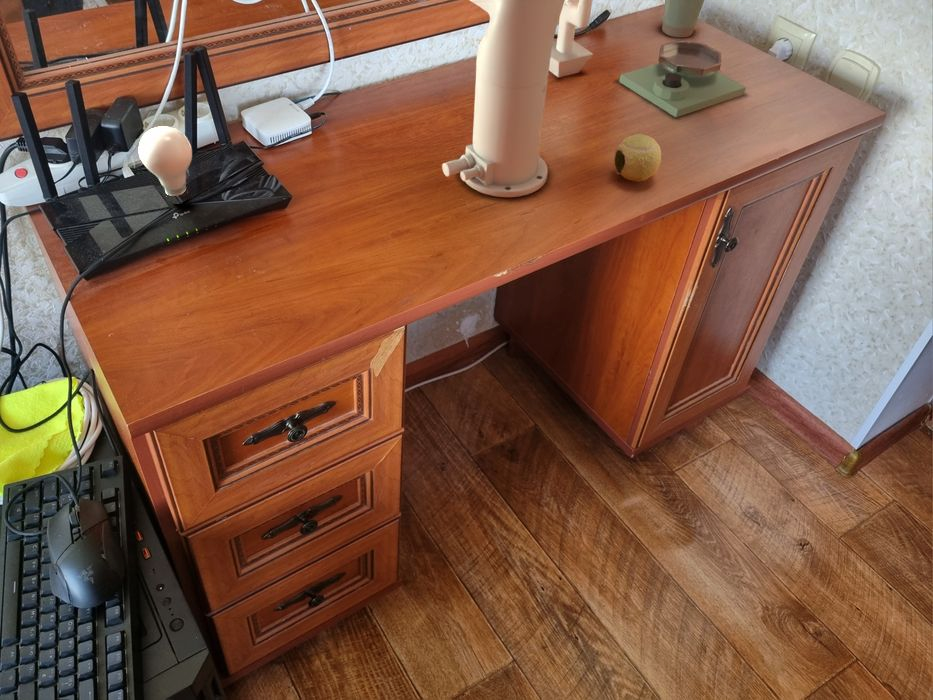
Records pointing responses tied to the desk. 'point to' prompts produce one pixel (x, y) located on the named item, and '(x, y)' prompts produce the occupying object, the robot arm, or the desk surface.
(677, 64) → the pan
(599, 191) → the desk surface
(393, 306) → the desk surface
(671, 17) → the coffee cup
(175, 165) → the lightbulb
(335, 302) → the desk surface
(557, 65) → the figurine
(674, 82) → the button
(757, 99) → the desk surface
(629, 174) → the tennis ball
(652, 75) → the scale
